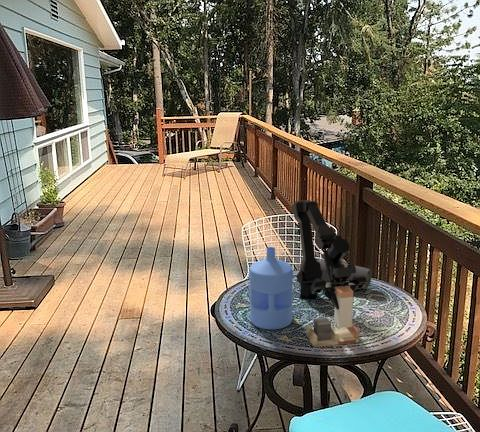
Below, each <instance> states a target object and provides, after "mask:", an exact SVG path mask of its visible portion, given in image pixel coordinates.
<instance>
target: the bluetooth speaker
mask: <svg viewBox="0 0 480 432" xmlns="http://www.w3.org/2000/svg"><path fill="white" fill-rule="evenodd" d="M316 260H317V261H318V262H319V263H320V266H321V270H322V279H321V280H325V281H326V283H327V282H329V278H328V274H327V275H326V271H327V270H326V266H325V262H324V259H316ZM342 264H344V266H345V267H348V264H349V263H345V262H342ZM355 268H356V273H352V274H351V275H352V276H351V277H349V278H348V279H346V280H352V279H353V278H354V277H355V276H363V275H364V276H365V277H366V278H367V281H368V283H367V284H366V285H365V286H364V287H363V288H360V290H367V289H368V288H369V287H370V285H371V282H372V270H371V269H370V268H367V267H363V266H359V265H355Z"/></svg>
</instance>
